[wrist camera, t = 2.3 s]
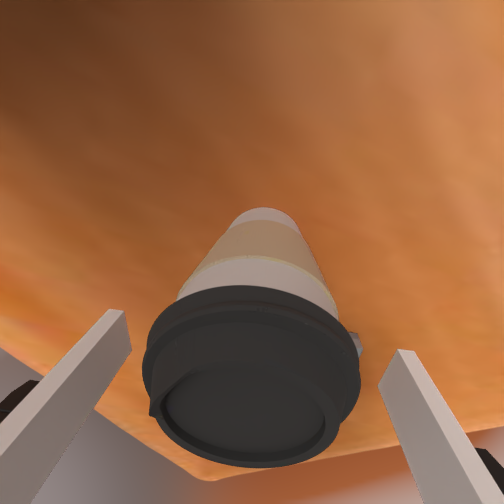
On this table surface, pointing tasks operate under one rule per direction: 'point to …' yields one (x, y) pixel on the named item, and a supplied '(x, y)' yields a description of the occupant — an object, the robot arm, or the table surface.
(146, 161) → the table surface
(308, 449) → the coffee cup
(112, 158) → the table surface
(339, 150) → the table surface
